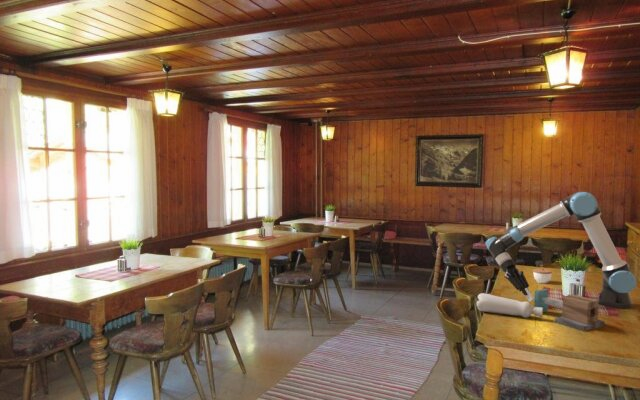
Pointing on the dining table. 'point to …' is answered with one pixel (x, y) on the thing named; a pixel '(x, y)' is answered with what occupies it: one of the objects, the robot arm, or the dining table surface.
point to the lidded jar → (542, 275)
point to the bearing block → (580, 313)
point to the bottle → (506, 306)
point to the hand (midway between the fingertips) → (531, 300)
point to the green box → (546, 300)
